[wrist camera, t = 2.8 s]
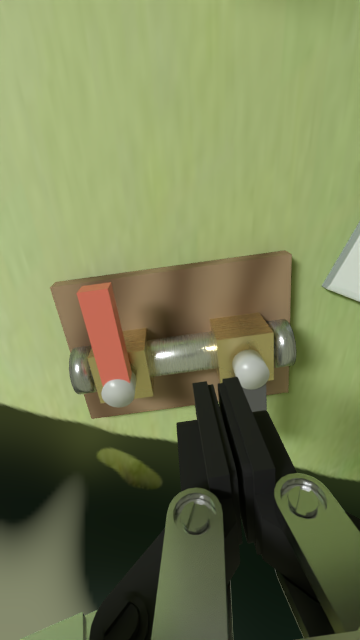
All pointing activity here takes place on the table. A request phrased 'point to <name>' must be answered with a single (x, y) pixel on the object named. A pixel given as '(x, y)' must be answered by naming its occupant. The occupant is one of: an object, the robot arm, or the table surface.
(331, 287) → the external hard drive
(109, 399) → the red valve lever
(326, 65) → the table surface
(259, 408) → the black valve lever
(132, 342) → the steel pipe with valves
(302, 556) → the robot arm
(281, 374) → the pipe board
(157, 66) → the table surface
